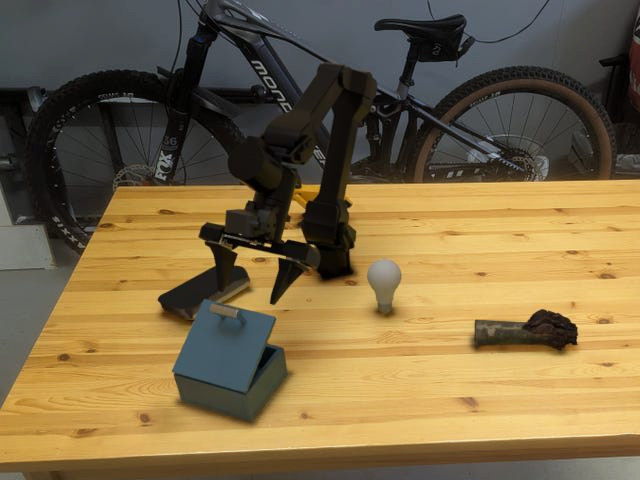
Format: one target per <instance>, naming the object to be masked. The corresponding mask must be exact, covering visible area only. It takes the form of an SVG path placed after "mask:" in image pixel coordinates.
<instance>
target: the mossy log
mask: <svg viewBox="0 0 640 480" xmlns="http://www.w3.org/2000/svg"><path fill="white" fill-rule="evenodd" d="M578 328H579V327H578V326H577V324H576V323H573V322H572V321H571V319H570V318H569V317H567V316H564V315H563V314H561V313H559V312H555V311H552V310H547V309H545V308H541V309H538V310H537V311H535V312H534V313H532V315H531V316H530V317H529V318H528V319H527V321H515V320H514V321H513V320H497V319H495V320H493V319H474V335H473V337H474V338H473V341H474V347H493V346H496V347H497V346H543V347H544V346H546V347H549V348H552V349H554V350H557V351H559V352H561V351H562V349H565V348H566V346H567V345H571V346H573V347H576V346H578V345H579V344H578V337H579V332H578V331H579V330H578Z"/></svg>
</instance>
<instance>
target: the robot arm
mask: <svg viewBox="0 0 640 480" xmlns="http://www.w3.org/2000/svg"><path fill="white" fill-rule="evenodd" d="M377 92H378V82H377V80H376V79H375V78H374V77H373V73H372V72H371V71H367V70H361V69H360V70H359V69H353V68H351V67H350V66H347V65H346V64H342V63H335V62H328V61H325V62H321V63H320V64H318V67H317V70H316V74H315V76H314V77H313V78H312V80H311V81H310V83H309V84H308V86H307V87H306V89H305V90H304V91H303V92H302V93H301V95H300V97H299V98H298V100H297V101H296V102H295V104H294V105H293V107H292V108H291V109H290V110H289V111H287V112H284V113H282V114H278V115H277V116H275V117H274V118H273V119H272V120H271V121H270V122H269V123H268V124H267V125H266V126H265V128H264V130H263V131H262V132H261V133H260V134H259V135H252V134H248V135H247V136H246V140H245V141H244V142H241V143H239V144H238V145H237V146H235V147H234V148H233V149H232V151H231V152H230V153H229V155H228V157H227V162H226V163H227V169H228V172H229V174H230V175H231V176H232V177H233V178H234V179H236V180H237V181H239V182H240V183H242V184H243V185H244V186H246V187H248V188H249V190H252V191H253V192H254V195H253V197H252V200H249V199H248V200H247V202H246V203H245V205H244V208H242V209H241V208H237V209H235V208H234V209H226V210H225V219H224V225H223V224H218V223H214V222H209V221H206V222H205V223H204V224H203V225H201V227H200V229H199V232H198V236H197V238H199V239H201V240H202V241H204V245H205V246H206V247H208V248H209V249H210V252H211V254H212V256H213V260H214V266H216V277H217V289H218V292H221V293H223V292H224V290H225V288H226V286H227V283H228V280H229V278H230V275H231V272H232V269H233V266H234V265H235V264H236V260H237V258H238V255H239V253H238V252H235V250H236V249H237V248H239V247H241V248H244V249H249V250H254V251H259V252H263V253H268V254H271V255H277V256H281V257H278V258H277V259H278V260H277V262H278V271H277V274H276V278H275V280H274V284H273V287H272V290H271V293H270V298H269V305H271V306H275V305H276V304H277V303H278V302H279V300H280V299H281V298H282V297H283V296H284V295H285V293H286V292H287V291H288V289H289V288H290V287H291V286H292V285H293V284H294V282H295V281H297V280H298V279H299V278H300V276H302V274H303V273H310V271H311V269H314V270H315V272H316V273H317V275H319V277H320V278H321V280H322V281H329V280H333V279H337V278H342V277H345V276H346V277H347V276H350V275H353V274H354V273H355V272H354V269H353V268H352V266H351V253H350V252H351V251H350V250H353V249H355V247H356V244H355V243H356V241H357V230H356V229H355V228H354V227H353V226H352V225H350V224H349V223H350V212H349V210H348V209H347V207H346V204H345V202H344V197H345V195H346V193H347V188H348V187H347V186H348V182H349V177H350V171H351V167H352V166H351V165H352V160H353V156H354V150H355V146H356V141H357V136H358V131H359V125H360V123H361V121H362V120H363V119H364V118H366V116H367V115H368V114H369V113H370V111H371V110H372V105H373V101H374V99H375V98H376V96H377ZM330 111H332V114H333V116H332V122H331V128H330V133H329V138H328V143H327V148H326V154H325V159H324V164H323V169H322V173H321V180H320V184H319V186H320V190H319V194H318V195H317V196H316V197H315V198H314V199H313V201H310V200H309V201H308V202H307V204H306V208H305V210H304V213H305V214H304V217H302V219H303V220H302V219H301V220H302V224H301V226H300V228H301V232H302V235H303V238H304V240H305V242H303V241H299V240H293V239H286V240H284V239H282V238H283V234H284V230H285V228H286V223H291V219H292V216H291V215H290V214H289V213H290V209H291V204H292V197H293V194H294V190H295V186H296V185H299V186H300V185H301V184H303V183H302V179H301V177H300V175H299V172H298V169H297V168H295V167H293V168H291V167H287V166H286V164H290V165H299V166H304V165H307V163H308V162H309V161H310V159H311V158H312V157H313V155H314V152H315V149H316V147H317V139H316V134H317V133H316V132H317V131H318V129H319V127H320V126H321V124H322V123H323V121H324V120H325V118H326V117H327V115H328V113H329V112H330ZM284 163H285V164H284ZM348 212H349V213H348ZM265 244H266V245H265ZM267 245H270V246H267ZM283 257H285V258H283Z"/></svg>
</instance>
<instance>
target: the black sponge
mask: <svg viewBox="0 0 640 480" xmlns="http://www.w3.org/2000/svg"><path fill="white" fill-rule="evenodd" d="M250 283H251V278H250V276H249V273H248V271H247V269H246V268H245V267H243V266H241V265H235V264H234V266H233V269H232V272H231V275H230V278H229V280H228V283H227V286H226V288H225V290H224V292H223V293H221V292H218V289H217V277H216V266H215V265H214V266H212V267H210V268H208V269H206V270H205V271H203V272H201V273H199V274H197V275H195V276H194V277H192V278H189V279H187V280H186V281H184V282H182V283H181V284H179V285H177V286H176V287H174V288H172V289H170V290H168V291H166V292H164V293H162V294H160V295H159V296H158V297H157V302H158V303H159V304H160V307H161V309H162V310H164V311H166V312H167V313H171V314H174V315H176V316H178V317H179V318H180V319H182V320H188V321H189V320H190V321H194V320H195V318H196V316H197V313H198V311H199V309H200V307H201V304H202V302H203V300H204V299H206V300H210V301H214V302H218V303H222V304H223V302H225V301H227V300H229V299H230V298H232V297H234V296H236V295H237V294H239V293H240V292H241V291H243V290H245V289H246V288H248V287H249V286H250Z"/></svg>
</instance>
